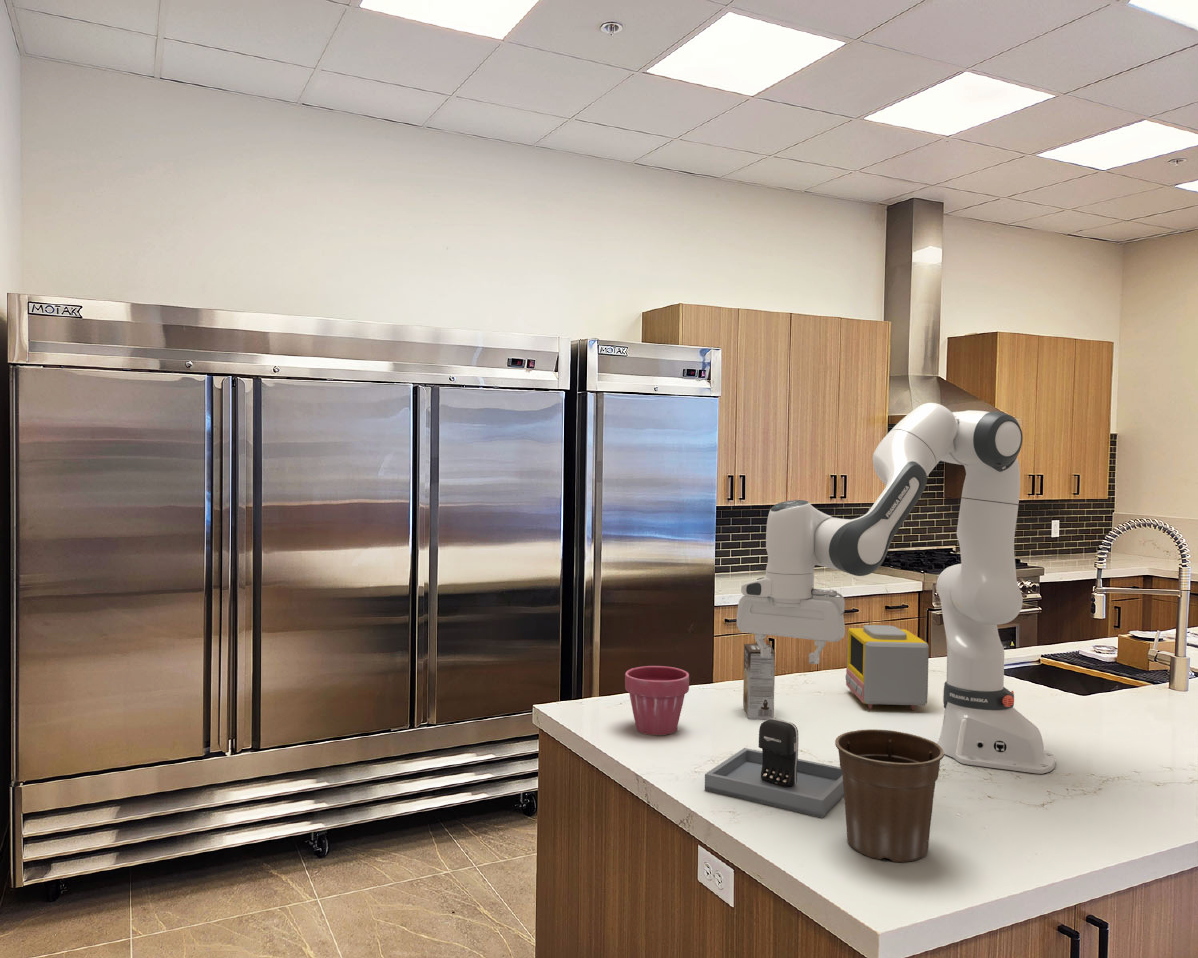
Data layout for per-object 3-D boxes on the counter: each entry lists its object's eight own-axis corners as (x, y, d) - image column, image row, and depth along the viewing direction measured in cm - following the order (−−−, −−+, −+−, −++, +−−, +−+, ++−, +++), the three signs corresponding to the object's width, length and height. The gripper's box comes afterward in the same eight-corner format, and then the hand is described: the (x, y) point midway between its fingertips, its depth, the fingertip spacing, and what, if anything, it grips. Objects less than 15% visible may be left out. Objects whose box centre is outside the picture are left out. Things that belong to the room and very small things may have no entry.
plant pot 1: (616, 735, 194) (617, 676, 194) (633, 717, 208) (634, 663, 207) (681, 742, 190) (682, 682, 190) (693, 724, 203) (694, 668, 203)
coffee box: (742, 708, 217) (743, 642, 217) (768, 708, 217) (769, 643, 216) (747, 719, 208) (748, 650, 207) (775, 719, 208) (776, 651, 207)
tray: (853, 785, 166) (854, 769, 166) (822, 817, 151) (822, 800, 151) (744, 762, 178) (744, 747, 178) (704, 790, 163) (704, 773, 162)
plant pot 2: (898, 880, 129) (901, 769, 128) (811, 840, 142) (813, 740, 141) (962, 852, 138) (965, 749, 138) (875, 817, 151) (877, 723, 151)
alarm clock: (843, 690, 235) (844, 621, 235) (904, 692, 234) (905, 622, 234) (862, 712, 215) (864, 636, 215) (928, 713, 215) (930, 637, 214)
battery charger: (754, 780, 166) (756, 719, 165) (766, 775, 168) (767, 715, 168) (787, 790, 161) (789, 727, 161) (798, 785, 164) (800, 723, 163)
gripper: (849, 588, 164) (849, 663, 164) (746, 581, 175) (746, 651, 175) (839, 593, 159) (839, 670, 159) (733, 585, 170) (733, 657, 170)
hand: (789, 660), depth 167 cm, fingers open, 8 cm apart
